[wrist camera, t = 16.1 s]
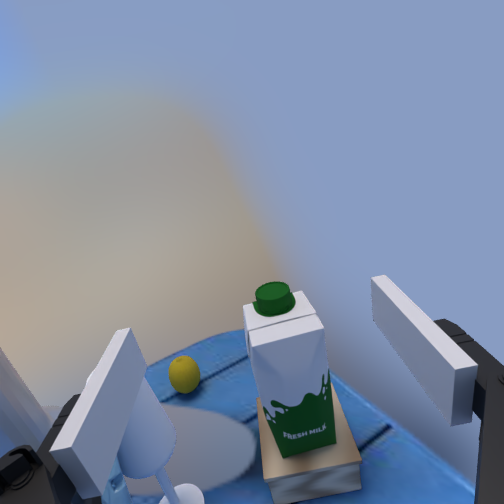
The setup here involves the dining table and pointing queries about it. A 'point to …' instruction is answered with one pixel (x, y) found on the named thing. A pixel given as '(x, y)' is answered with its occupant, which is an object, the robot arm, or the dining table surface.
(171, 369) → the lemon
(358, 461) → the oak riser
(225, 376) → the dining table surface
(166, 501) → the champagne flute
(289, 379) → the fresh milk carton
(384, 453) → the dining table surface
